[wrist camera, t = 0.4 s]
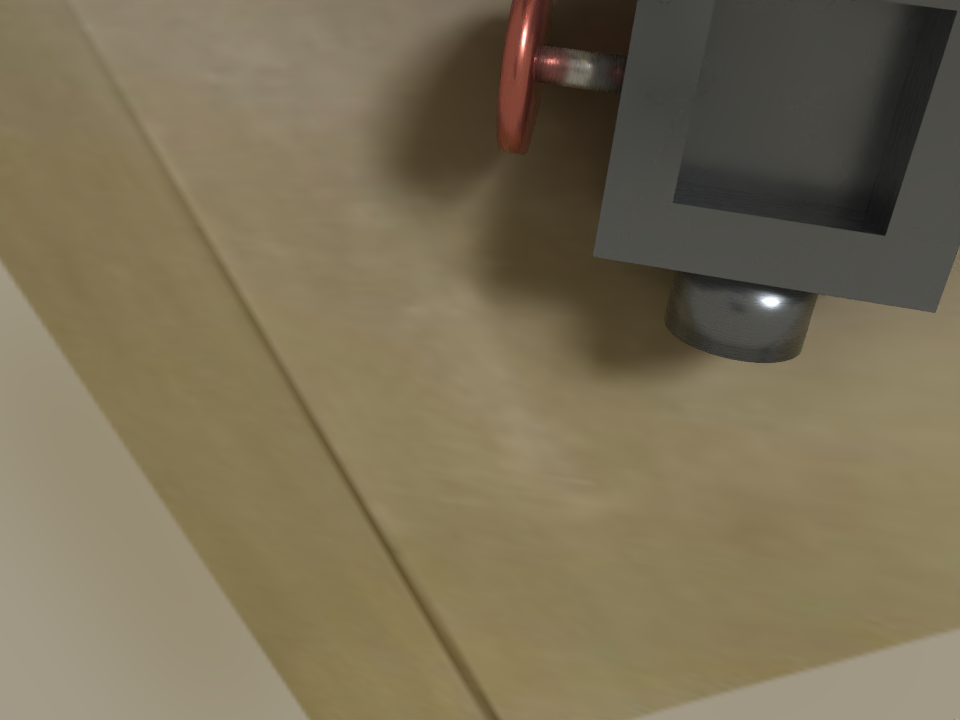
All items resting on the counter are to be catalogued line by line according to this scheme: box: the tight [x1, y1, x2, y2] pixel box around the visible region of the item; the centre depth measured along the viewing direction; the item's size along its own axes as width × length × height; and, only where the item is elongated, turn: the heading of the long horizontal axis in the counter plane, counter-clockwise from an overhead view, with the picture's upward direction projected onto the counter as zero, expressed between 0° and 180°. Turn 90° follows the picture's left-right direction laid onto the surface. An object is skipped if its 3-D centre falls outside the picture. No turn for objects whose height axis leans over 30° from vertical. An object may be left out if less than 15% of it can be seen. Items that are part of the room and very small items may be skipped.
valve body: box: [497, 0, 960, 363], centre depth 30 cm, size 17×15×6 cm
